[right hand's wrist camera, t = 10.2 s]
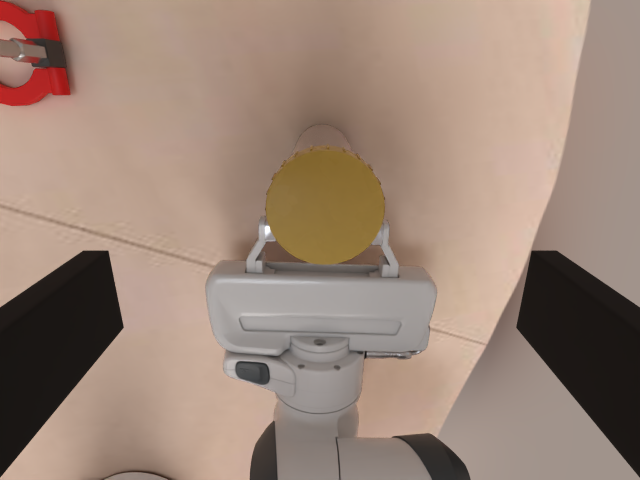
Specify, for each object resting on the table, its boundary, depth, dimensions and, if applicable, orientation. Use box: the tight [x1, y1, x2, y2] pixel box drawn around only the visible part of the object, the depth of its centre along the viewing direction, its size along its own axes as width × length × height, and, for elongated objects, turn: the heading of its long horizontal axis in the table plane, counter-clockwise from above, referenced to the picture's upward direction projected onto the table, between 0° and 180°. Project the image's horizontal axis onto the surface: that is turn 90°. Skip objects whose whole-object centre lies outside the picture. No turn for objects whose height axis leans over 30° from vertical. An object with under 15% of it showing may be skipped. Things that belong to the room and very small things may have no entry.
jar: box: [292, 124, 354, 156], centre depth 30 cm, size 5×5×19 cm
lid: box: [265, 144, 385, 265], centre depth 21 cm, size 6×6×2 cm
